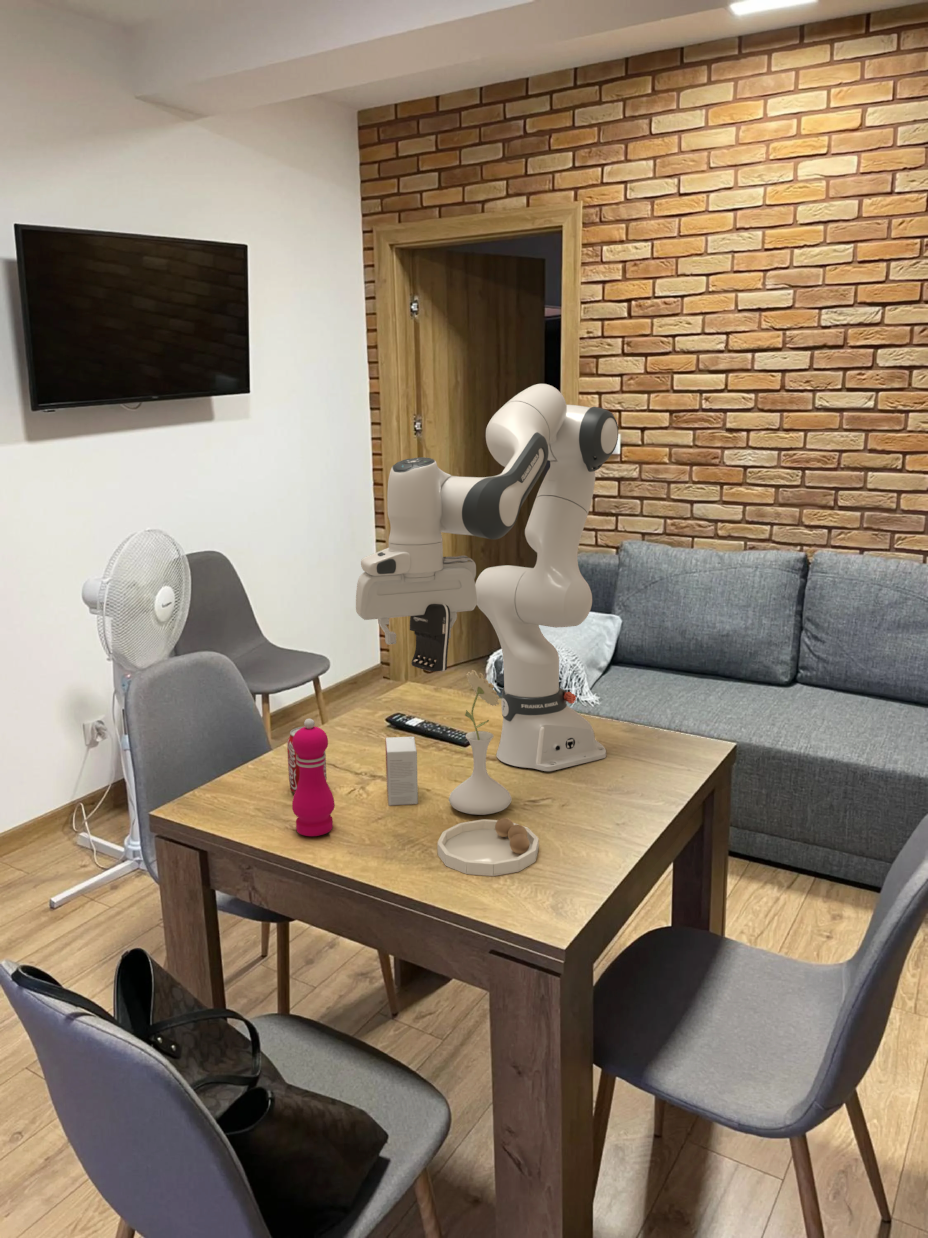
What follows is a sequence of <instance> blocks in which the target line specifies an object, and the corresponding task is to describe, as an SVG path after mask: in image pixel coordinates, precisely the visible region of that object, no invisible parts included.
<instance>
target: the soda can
mask: <svg viewBox="0 0 928 1238" xmlns="http://www.w3.org/2000/svg"><path fill="white" fill-rule="evenodd" d="M303 727H305V726H304V725H303V726H299V727H295V728H293V729H291V730H290V732H289V737H288V739H287V741H286V742H287V743H286V745H287V747H286V748H287V766H288V767H287V770H288V771H287V772H288V780H289V787H290V789H289V790H291V792H292V793H294V794H295V791H296V789H297V786H298V782H299V776H300V770H299V766H298V765H297V763H296V761H297V759H296V756H297V755H298V754H297V753H296V752H295V751H294V749H293V745H292V741H293V737H294V735H295V733H296V732H297V731H298V730H299V729H301V728H303ZM324 753H325V754H326V750H325V751H324ZM325 759H327V756H326V757H325ZM324 776H325V779H326V780H328V779H327V761H326V762H325V764H324Z"/></svg>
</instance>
